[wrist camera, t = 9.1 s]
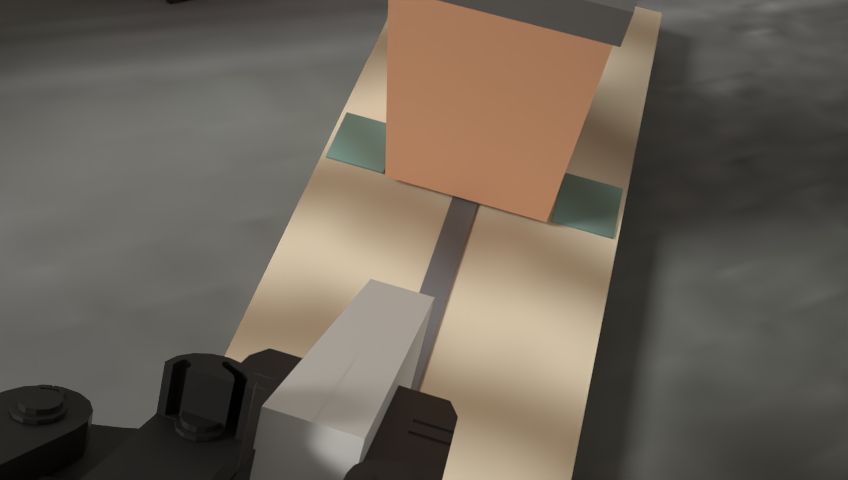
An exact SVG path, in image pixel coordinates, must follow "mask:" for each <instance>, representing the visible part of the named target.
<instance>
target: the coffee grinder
mask: <svg viewBox="0 0 848 480" xmlns="http://www.w3.org/2000/svg"><path fill="white" fill-rule="evenodd" d="M167 1H168V2H169V3H170V4H172V3H177V2H182V1H187V0H167Z"/></svg>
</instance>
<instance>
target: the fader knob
mask: <svg viewBox="0 0 848 480" xmlns="http://www.w3.org/2000/svg"><path fill="white" fill-rule="evenodd" d="M636 1H637V0H388V45H387V103H386V160H385V176H386V177H389V178H393V179H396V180H400V181H403V182H407V183H410V184H414V185H417V186H421V187H424V188H428V189H431V190H435V191H438V192H442V193H445V194H449V195H452V196H456V197H459V198H463V199H466V200H470V201H473V202H477V203H480V204H484V205H487V206H491V207H494V208H498V209H501V210H505V211H508V212H512V213H515V214H519V215H522V216H526V217H529V218H533V219H536V220H540V221H543V222H547V219H548V217H549V214H550V212H551V209H552V206H553V204H554V201H555V198H556V196H557V193H558V190H559V188H560V185H561V182H562V180H563V177H564V174H565V172H566V169H567V166H568V164H569V161H570V158H571V156H572V153H573V151H574V148H575V145H576V143H577V140H578V137H579V135H580V132H581V129H582V127H583V124H584V121H585V119H586V116H587V113H588V111H589V108H590V105H591V103H592V100H593V97H594V95H595V92H596V89H597V87H598V84H599V82H600V79H601V76H602V74H603V71H604V68H605V66H606V63H607V60H608V58H609V55H610V52H611V50H612V47H613V45H614V46H617V47H621V44H622V42H623V39H624V37H625V34H626V32H627V29H628V26H629V24H630V21H631V19H632V16H633V14H634V10H635V5H636Z"/></svg>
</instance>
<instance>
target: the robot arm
mask: <svg viewBox="0 0 848 480" xmlns="http://www.w3.org/2000/svg"><path fill="white" fill-rule="evenodd" d="M434 298H435V297H432V296H428V295H425V294H421V293H418V292H414V291H411V290H408V289H404V288H401V287H397V286H394V285H390V284H387V283H383V282H380V281H376V280H373V279H370V280H369V282H368V283H367V284H366V285H365V286H364V287H363V289H362V290H361V291H360V292H359V293H358V294H357V296H356V297H355V298H354V299H353V300H352V301H351V303H350V304H349V305H348V306H347V307H346V308H345V310H344V311H343V312H342V313H341V314H340V315H339V317H338V318H337V319H336V320H335V321H334V322H333V324H332V325H331V326H330V327H329V328H328V329H327V331H326V332H325V333H324V334H323V335H322V336H321V338H320V339H319V340H318V341H317V342H316V343H315V345H314V346H313V347H312V348H311V349H310V350H309V352H308V353H307V354H306V355H305V356H304V357H303V358H301V357H297V356H294V355H291V354H287V353H284V352H281V351H278V350H274V349H271V348H269V349H266V350H263V351H260V352H257V353H254V354H251V355H249V356H248V357H246V358H245V359H244V360H243V361H242V362H238V361H236V360H234V359H231V358H229V357H224V356H219V355H215V354H200V353H192V354H186V355H180V356H176V357H174V358H172V359H170V360H168V361H165V366H164V372H163V378H162V384H161V390H160V396H159V402H158V408H157V413H156V414H155V415H154V416H153V417H152V418H151V419H150V420H148V421H147V422H146V423H145V424H144V425H143V426H142V427H140V428H139V429H136V428H120V427H111V426H102V425H94V424H91V422H92V415H93V409H92V406H91V403H90V401H89V400H88V399H86V398H85V397H84V396H83V395H81V394H80V393H78V392H75V391H72V390H69V389H66V388H63V387H59V386H52V385H38V386H23V387H19V388H15V389H11V390H7V391H4V392H1V393H0V480H442V478H443V474H444V471H445V467H446V463H447V459H448V455H449V451H450V446H451V443H452V439H453V434H454V431H455V427H456V423H457V419H458V416H457V414H456V412H455V410H454V407H453V405H452V403H451V401H449V400H446V399H443V398H439V397H436V396H433V395H429V394H426V393H423V392H420V391H416V390H413V389H411V385H412V381H413V377H414V373H415V370H416V366H417V362H418V358H419V355H420V351H421V347H422V343H423V339H424V336H425V332H426V328H427V324H428V321H429V317H430V313H431V309H432V305H433V302H434Z"/></svg>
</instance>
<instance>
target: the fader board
mask: <svg viewBox="0 0 848 480" xmlns="http://www.w3.org/2000/svg"><path fill="white" fill-rule="evenodd" d="M661 17H662V13H661V12H657V11H653V10H649V9H645V8H641V7H636V6H635V10H634V14H633V16H632V19H631V21H630V24H629V26H628V29H627V32H626V34H625V37H624V39H623V42H622V44H621V47H617V46H614V45H613V47H612V50H611V52H610V55H609V58H608V60H607V63H606V66H605V68H604V71H603V74H602V76H601V79H600V82H599V84H598V87H597V89H596V92H595V95H594V97H593V100H592V103H591V105H590V108H589V111H588V113H587V116H586V119H585V121H584V124H583V127H582V129H581V132H580V135H579V137H578V140H577V143H576V145H575V148H574V151H573V153H572V156H571V158H570V161H569V164H568V166H567V169H566V172H565V174H564V177H563V180H562V182H561V185H560V188H559V190H558V193H557V196H556V198H555V201H554V204H553V206H552V209H551V212H550V214H549V217H548V219H547V222H543V221H540V220H536V219H533V218H529V217H526V216H522V215H519V214H515V213H512V212H508V211H505V210H501V209H498V208H494V207H491V206H487V205H484V204H480V203H477V202H473V201H470V200H466V199H463V198H459V197H456V196H452V195H449V194H445V193H442V192H438V191H435V190H431V189H428V188H424V187H421V186H417V185H414V184H410V183H407V182H403V181H400V180H396V179H393V178H389V177H386V176H385V160H386V103H387V45H388V19H387V21H386V23H385V25H384V27H383V29H382V31H381V33H380V35H379V37H378V39H377V41H376V43H375V46H374V48H373V50H372V52H371V54H370V56H369V58H368V60H367V62H366V64H365V66H364V68H363V70H362V72H361V75H360V77H359V79H358V81H357V83H356V85H355V87H354V89H353V91H352V93H351V95H350V97H349V99H348V101H347V104H346V106H345V108H344V110H343V112H342V114H341V116H340V118H339V120H338V122H337V124H336V126H335V128H334V131H333V133H332V135H331V137H330V139H329V141H328V143H327V145H326V147H325V149H324V151H323V153H322V155H321V157H320V160H319V162H318V164H317V166H316V168H315V170H314V172H313V174H312V176H311V178H310V180H309V182H308V184H307V186H306V189H305V191H304V193H303V195H302V197H301V199H300V201H299V203H298V205H297V207H296V209H295V211H294V213H293V215H292V218H291V220H290V222H289V224H288V226H287V228H286V230H285V232H284V234H283V236H282V238H281V240H280V242H279V244H278V247H277V249H276V251H275V253H274V255H273V257H272V259H271V261H270V263H269V265H268V267H267V269H266V271H265V273H264V276H263V278H262V280H261V282H260V284H259V286H258V288H257V290H256V292H255V294H254V296H253V298H252V300H251V302H250V305H249V307H248V309H247V311H246V313H245V315H244V317H243V319H242V321H241V323H240V325H239V327H238V329H237V331H236V334H235V336H234V338H233V340H232V342H231V344H230V346H229V348H228V350H227V352H226V354H225V356H224V357H229V358H231V359H234V360H236V361H238V362H242V361H243V360H244V359H245V358H246V357H248V356H249V355H251V354H254V353H257V352H260V351H263V350H266V349H269V348H271V349H274V350H278V351H281V352H284V353H287V354H291V355H294V356H297V357H301V358H303V357H304V356H305V355H306V354H307V353H308V352H309V350H310V349H311V348H312V347H313V346H314V345H315V343H316V342H317V341H318V340H319V339H320V338H321V336H322V335H323V334H324V333H325V332H326V331H327V329H328V328H329V327H330V326H331V325H332V324H333V322H334V321H335V320H336V319H337V318H338V317H339V315H340V314H341V313H342V312H343V311H344V310H345V308H346V307H347V306H348V305H349V304H350V303H351V301H352V300H353V299H354V298H355V297H356V296H357V294H358V293H359V292H360V291H361V290H362V289H363V287H364V286H365V285H366V284H367V283H368V282H369V280H370V279H373V280H376V281H380V282H383V283H387V284H390V285H394V286H397V287H401V288H404V289H408V290H411V291H414V292H418V293H421V294H425V295H428V296H432V297H435V298H434V302H433V305H432V309H431V313H430V317H429V321H428V324H427V328H426V332H425V336H424V339H423V343H422V347H421V351H420V355H419V358H418V362H417V366H416V370H415V373H414V377H413V381H412V385H411V389H413V390H416V391H420V392H423V393H426V394H429V395H433V396H436V397H439V398H443V399H446V400H449V401H451V403H452V405H453V407H454V410H455V412H456V414H457V416H458V419H457V423H456V427H455V431H454V434H453V439H452V443H451V446H450V451H449V455H448V459H447V463H446V467H445V471H444V474H443V478H442V480H571V478H572V473H573V468H574V463H575V458H576V453H577V448H578V442H579V437H580V432H581V427H582V422H583V417H584V412H585V407H586V401H587V396H588V391H589V386H590V381H591V376H592V371H593V366H594V360H595V355H596V350H597V345H598V340H599V335H600V330H601V325H602V320H603V314H604V309H605V304H606V299H607V294H608V289H609V284H610V279H611V273H612V268H613V263H614V258H615V253H616V248H617V243H618V238H619V232H620V227H621V222H622V217H623V212H624V207H625V202H626V197H627V191H628V186H629V181H630V176H631V171H632V166H633V161H634V156H635V150H636V145H637V140H638V135H639V130H640V125H641V120H642V115H643V109H644V104H645V99H646V94H647V89H648V84H649V79H650V74H651V68H652V63H653V58H654V53H655V48H656V43H657V38H658V33H659V27H660V22H661Z"/></svg>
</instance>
